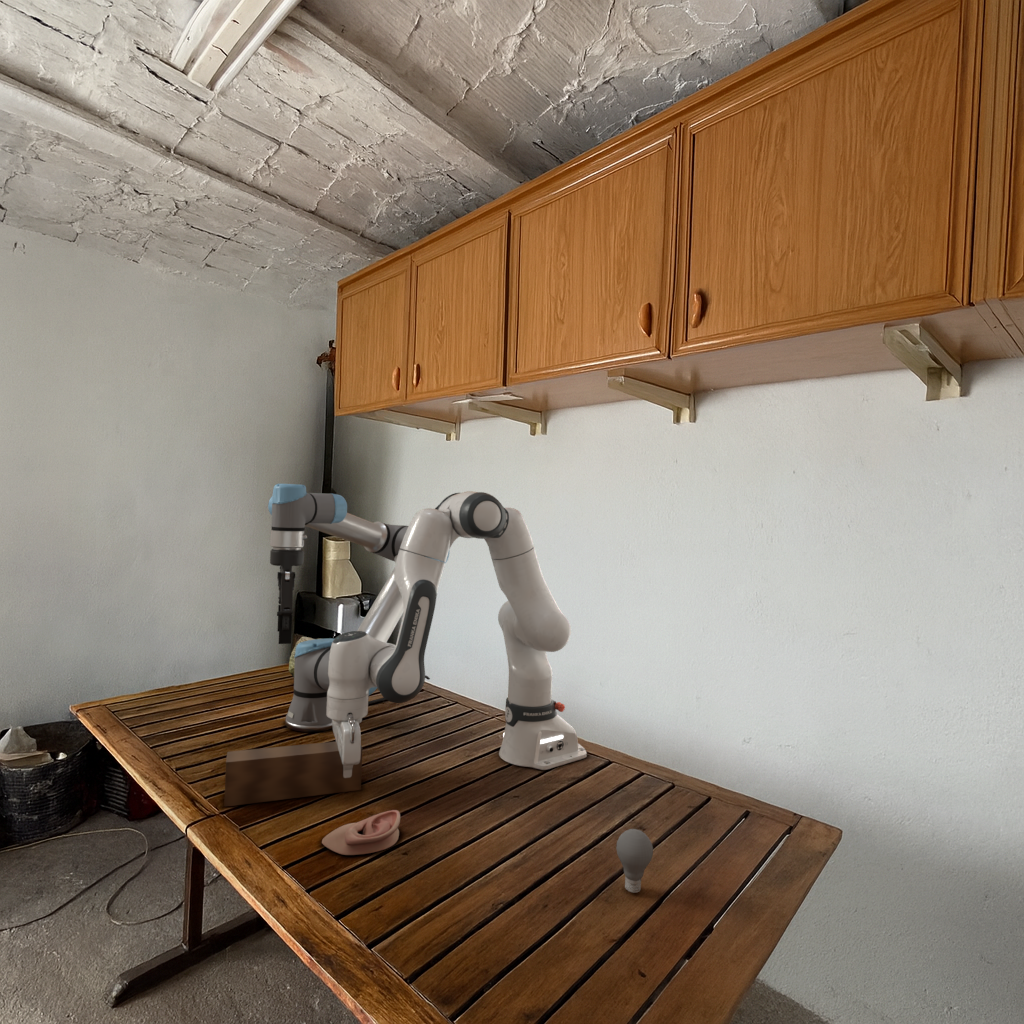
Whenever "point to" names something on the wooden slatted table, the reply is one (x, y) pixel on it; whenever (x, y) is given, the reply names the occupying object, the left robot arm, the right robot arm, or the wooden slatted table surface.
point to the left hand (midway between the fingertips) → (284, 637)
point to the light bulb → (634, 857)
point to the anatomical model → (365, 835)
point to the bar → (287, 773)
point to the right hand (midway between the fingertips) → (345, 769)
